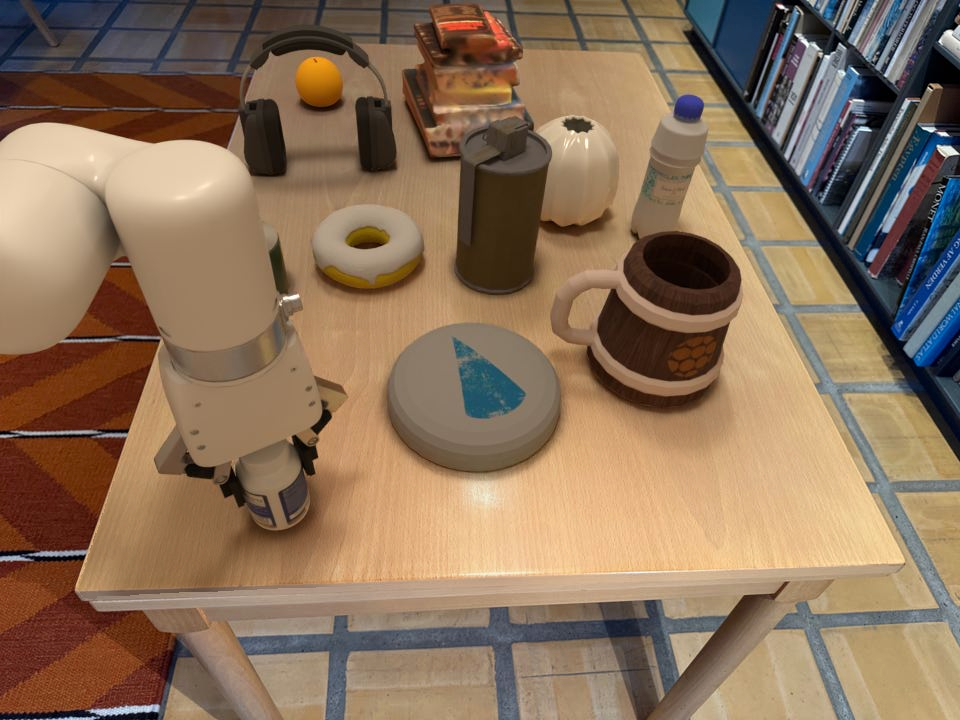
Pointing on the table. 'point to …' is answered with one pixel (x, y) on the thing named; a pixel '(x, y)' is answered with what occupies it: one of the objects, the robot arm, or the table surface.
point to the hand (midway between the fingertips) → (271, 477)
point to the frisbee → (473, 396)
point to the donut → (371, 264)
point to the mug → (657, 318)
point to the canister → (500, 205)
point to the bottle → (670, 167)
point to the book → (462, 76)
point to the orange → (319, 82)
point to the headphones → (263, 115)
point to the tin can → (276, 258)
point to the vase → (578, 170)
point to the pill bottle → (274, 485)
